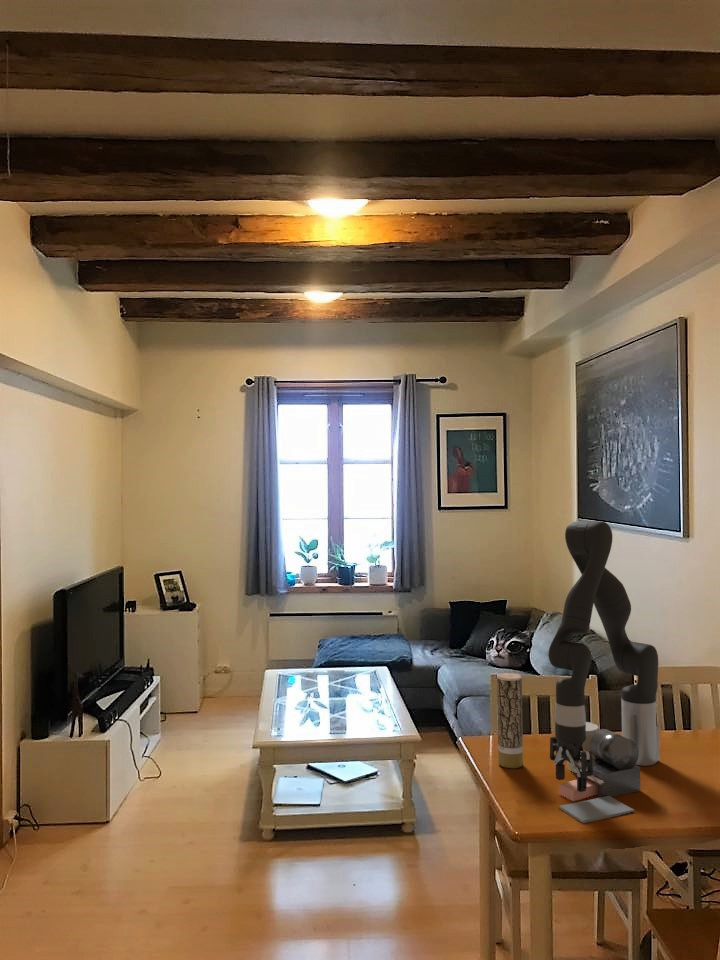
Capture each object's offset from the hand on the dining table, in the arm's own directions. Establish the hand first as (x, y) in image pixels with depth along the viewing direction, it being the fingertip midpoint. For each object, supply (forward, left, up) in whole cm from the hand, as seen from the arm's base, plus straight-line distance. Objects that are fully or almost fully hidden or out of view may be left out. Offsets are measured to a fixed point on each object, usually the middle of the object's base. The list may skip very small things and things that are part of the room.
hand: (570, 785), depth 196 cm
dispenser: (-12, 0, -3) cm, 12 cm away
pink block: (-5, 0, -3) cm, 6 cm away
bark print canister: (+2, -24, -3) cm, 24 cm away
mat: (0, +10, -3) cm, 10 cm away
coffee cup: (-14, -13, -3) cm, 19 cm away
